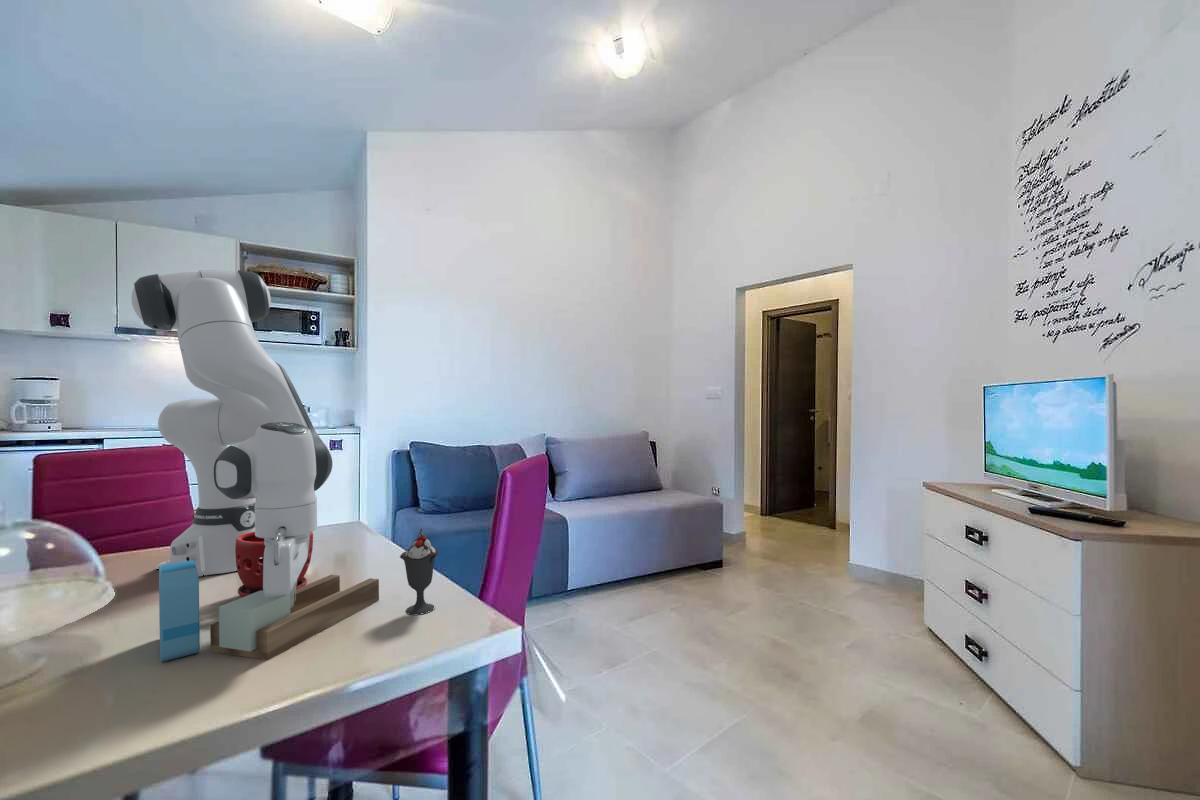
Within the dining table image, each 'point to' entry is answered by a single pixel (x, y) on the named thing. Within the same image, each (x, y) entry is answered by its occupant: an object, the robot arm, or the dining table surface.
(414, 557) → the sundae
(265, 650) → the chute
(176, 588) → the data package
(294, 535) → the robot arm
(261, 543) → the plant pot
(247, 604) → the block
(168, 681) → the dining table surface
